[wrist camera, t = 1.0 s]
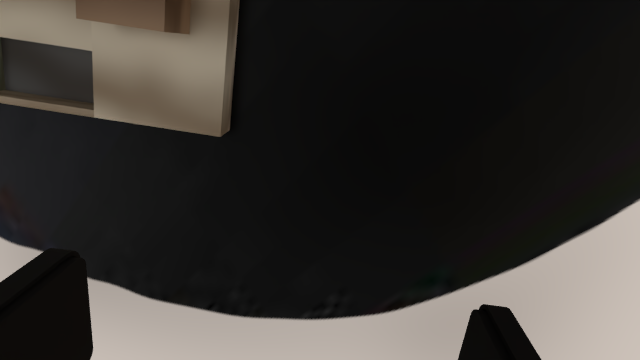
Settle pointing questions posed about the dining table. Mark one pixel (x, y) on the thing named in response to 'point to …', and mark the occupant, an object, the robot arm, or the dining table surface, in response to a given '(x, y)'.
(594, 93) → the dining table surface
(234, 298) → the dining table surface
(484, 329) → the robot arm
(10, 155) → the dining table surface
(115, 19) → the walnut block
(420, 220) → the dining table surface
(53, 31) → the board
